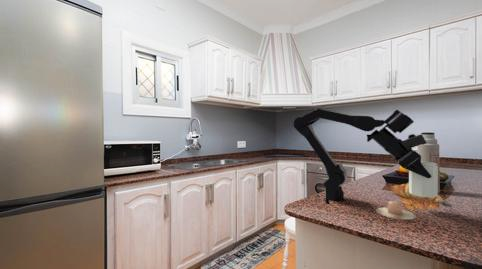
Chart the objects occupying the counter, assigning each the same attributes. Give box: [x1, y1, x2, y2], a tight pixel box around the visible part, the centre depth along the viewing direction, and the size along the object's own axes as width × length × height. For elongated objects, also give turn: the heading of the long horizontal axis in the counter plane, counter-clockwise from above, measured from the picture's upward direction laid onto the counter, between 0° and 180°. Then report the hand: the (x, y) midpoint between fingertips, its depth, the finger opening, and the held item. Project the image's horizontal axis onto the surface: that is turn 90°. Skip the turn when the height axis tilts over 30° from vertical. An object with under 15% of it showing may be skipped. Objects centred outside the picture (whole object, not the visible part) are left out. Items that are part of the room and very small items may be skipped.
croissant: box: [390, 182, 445, 204], centre depth 95 cm, size 21×10×8 cm, turn 19°
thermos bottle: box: [416, 131, 441, 194], centre depth 106 cm, size 8×8×28 cm
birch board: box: [375, 206, 417, 220], centre depth 74 cm, size 11×11×1 cm
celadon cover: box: [408, 161, 439, 198], centre depth 76 cm, size 7×7×11 cm
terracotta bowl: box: [387, 200, 403, 215], centre depth 74 cm, size 4×4×4 cm
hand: (428, 175), depth 75 cm, fingers closed on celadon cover, 7 cm apart
